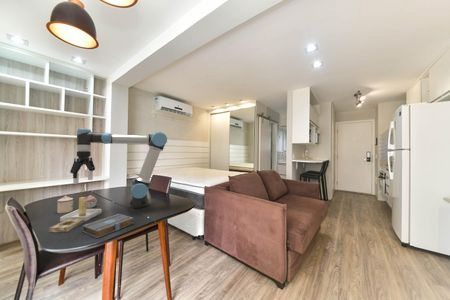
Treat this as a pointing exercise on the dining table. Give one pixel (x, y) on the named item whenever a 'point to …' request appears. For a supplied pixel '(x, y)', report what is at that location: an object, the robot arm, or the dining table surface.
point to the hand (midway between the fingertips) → (83, 181)
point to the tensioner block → (66, 225)
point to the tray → (75, 215)
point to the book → (107, 225)
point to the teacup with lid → (65, 205)
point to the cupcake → (90, 202)
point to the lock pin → (82, 206)
